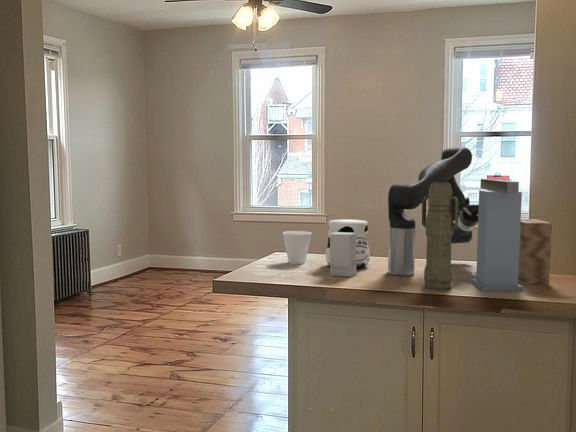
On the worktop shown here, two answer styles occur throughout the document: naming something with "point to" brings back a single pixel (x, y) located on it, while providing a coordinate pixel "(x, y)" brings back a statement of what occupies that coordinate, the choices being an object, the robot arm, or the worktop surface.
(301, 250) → the cup
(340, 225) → the milk container
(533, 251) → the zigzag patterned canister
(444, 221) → the thermos
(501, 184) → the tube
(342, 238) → the skincare box
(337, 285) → the worktop surface
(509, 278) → the gray pedestal
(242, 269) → the worktop surface
